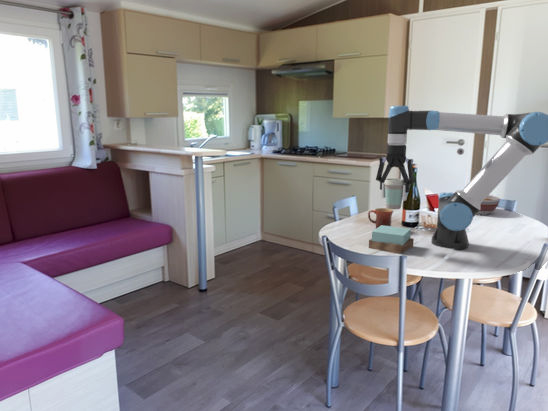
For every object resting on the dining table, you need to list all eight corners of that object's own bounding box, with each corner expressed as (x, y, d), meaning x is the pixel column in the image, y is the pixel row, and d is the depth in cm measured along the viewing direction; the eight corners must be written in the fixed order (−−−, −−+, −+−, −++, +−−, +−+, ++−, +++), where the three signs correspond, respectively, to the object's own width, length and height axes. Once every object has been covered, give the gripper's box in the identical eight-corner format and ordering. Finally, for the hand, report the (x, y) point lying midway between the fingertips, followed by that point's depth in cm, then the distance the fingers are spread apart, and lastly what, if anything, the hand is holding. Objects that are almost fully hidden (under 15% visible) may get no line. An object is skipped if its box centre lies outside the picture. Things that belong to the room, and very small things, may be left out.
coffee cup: (404, 210, 181) (406, 181, 179) (383, 209, 183) (384, 180, 180) (403, 206, 189) (404, 178, 187) (382, 205, 191) (383, 178, 188)
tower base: (413, 247, 191) (413, 238, 190) (400, 255, 180) (400, 245, 179) (382, 242, 199) (383, 233, 198) (368, 249, 188) (369, 240, 187)
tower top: (410, 237, 191) (411, 228, 190) (402, 245, 180) (403, 235, 179) (380, 233, 197) (381, 225, 197) (371, 240, 186) (372, 231, 186)
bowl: (449, 209, 268) (451, 193, 266) (489, 210, 265) (490, 193, 263) (461, 217, 245) (463, 200, 243) (504, 218, 243) (506, 200, 241)
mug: (393, 229, 220) (394, 208, 218) (391, 233, 212) (392, 212, 210) (369, 226, 224) (370, 207, 222) (365, 230, 216) (366, 210, 214)
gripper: (426, 144, 177) (422, 200, 182) (376, 143, 190) (374, 195, 194) (419, 145, 171) (415, 203, 176) (368, 143, 184) (366, 197, 189)
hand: (393, 198), depth 185 cm, fingers closed on coffee cup, 8 cm apart
